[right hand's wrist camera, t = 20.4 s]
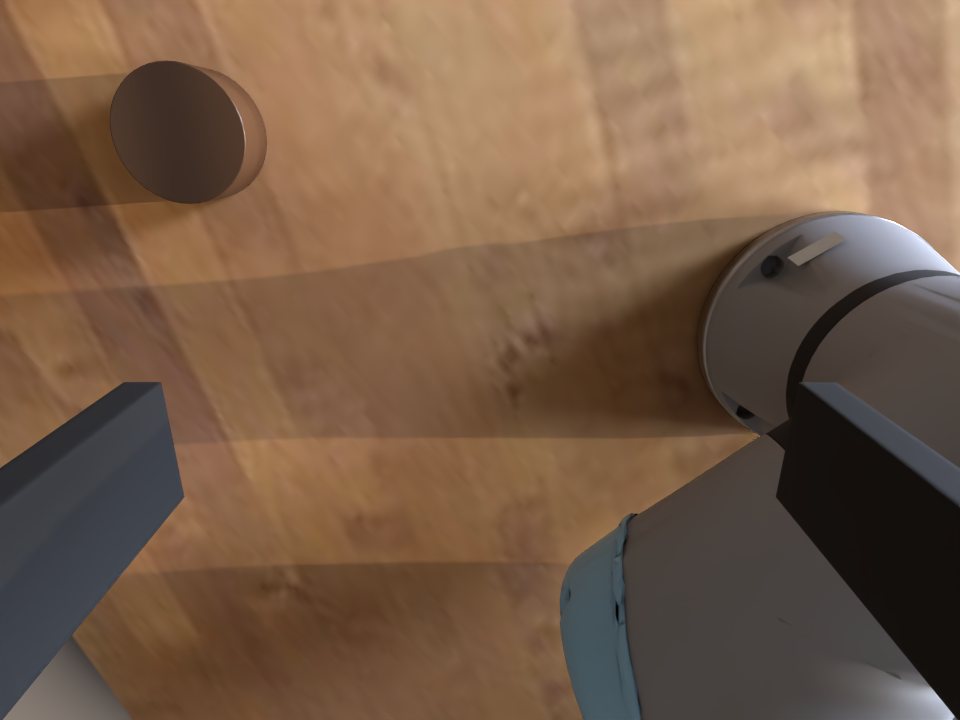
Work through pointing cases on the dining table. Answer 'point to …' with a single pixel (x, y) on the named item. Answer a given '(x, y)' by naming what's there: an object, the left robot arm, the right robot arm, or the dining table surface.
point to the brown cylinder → (187, 132)
